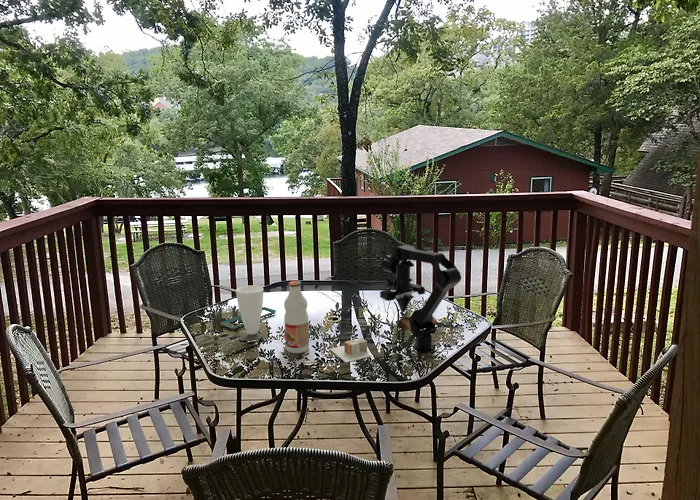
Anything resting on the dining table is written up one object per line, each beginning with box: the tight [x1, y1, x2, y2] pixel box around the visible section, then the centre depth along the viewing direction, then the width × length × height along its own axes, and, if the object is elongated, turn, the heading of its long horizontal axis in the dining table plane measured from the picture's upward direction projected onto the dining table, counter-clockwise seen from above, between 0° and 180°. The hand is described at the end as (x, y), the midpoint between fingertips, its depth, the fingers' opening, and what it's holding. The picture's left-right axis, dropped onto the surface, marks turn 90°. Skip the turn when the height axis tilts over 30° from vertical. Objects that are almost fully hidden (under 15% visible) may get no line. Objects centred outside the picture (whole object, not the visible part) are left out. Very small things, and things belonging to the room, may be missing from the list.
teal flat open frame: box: [220, 306, 277, 330], centre depth 243 cm, size 26×9×2 cm, turn 140°
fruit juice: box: [283, 280, 310, 354], centre depth 207 cm, size 9×9×28 cm
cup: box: [235, 284, 264, 342], centre depth 220 cm, size 12×12×22 cm
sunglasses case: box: [397, 316, 441, 332], centre depth 235 cm, size 18×7×7 cm, turn 120°
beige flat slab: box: [329, 345, 372, 364], centre depth 206 cm, size 14×11×1 cm
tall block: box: [343, 337, 368, 355], centre depth 206 cm, size 4×4×8 cm
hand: (402, 312), depth 215 cm, fingers closed
